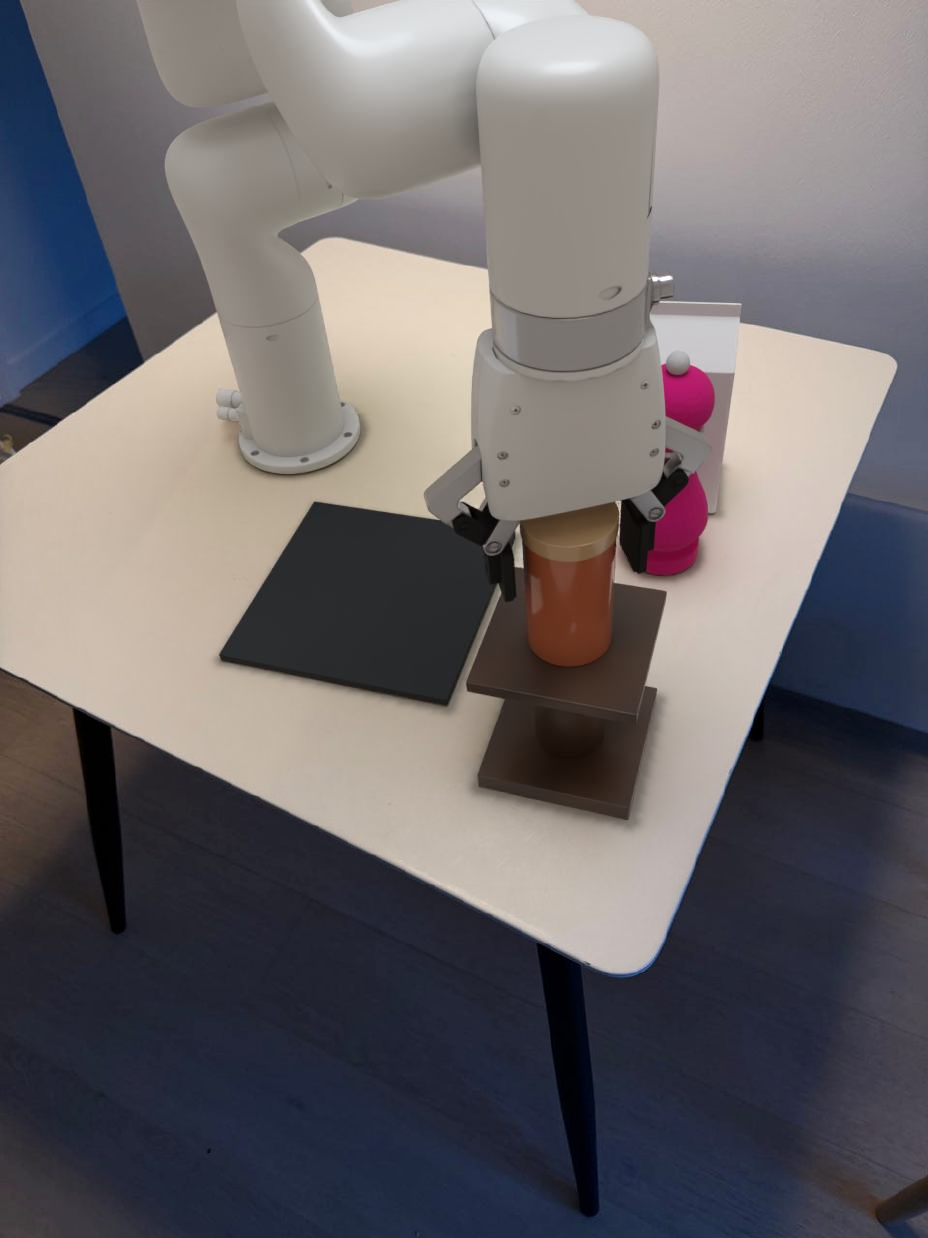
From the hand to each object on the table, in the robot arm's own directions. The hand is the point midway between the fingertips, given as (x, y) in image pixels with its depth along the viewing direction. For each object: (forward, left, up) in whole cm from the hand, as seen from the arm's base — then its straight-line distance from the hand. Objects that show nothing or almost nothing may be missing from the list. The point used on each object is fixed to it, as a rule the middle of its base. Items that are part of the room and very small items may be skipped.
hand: (569, 570), depth 61 cm
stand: (0, 0, -18) cm, 18 cm away
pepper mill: (+3, +22, -18) cm, 29 cm away
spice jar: (0, 0, -6) cm, 6 cm away
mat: (-20, +11, -18) cm, 29 cm away
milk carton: (+3, +31, -18) cm, 36 cm away
